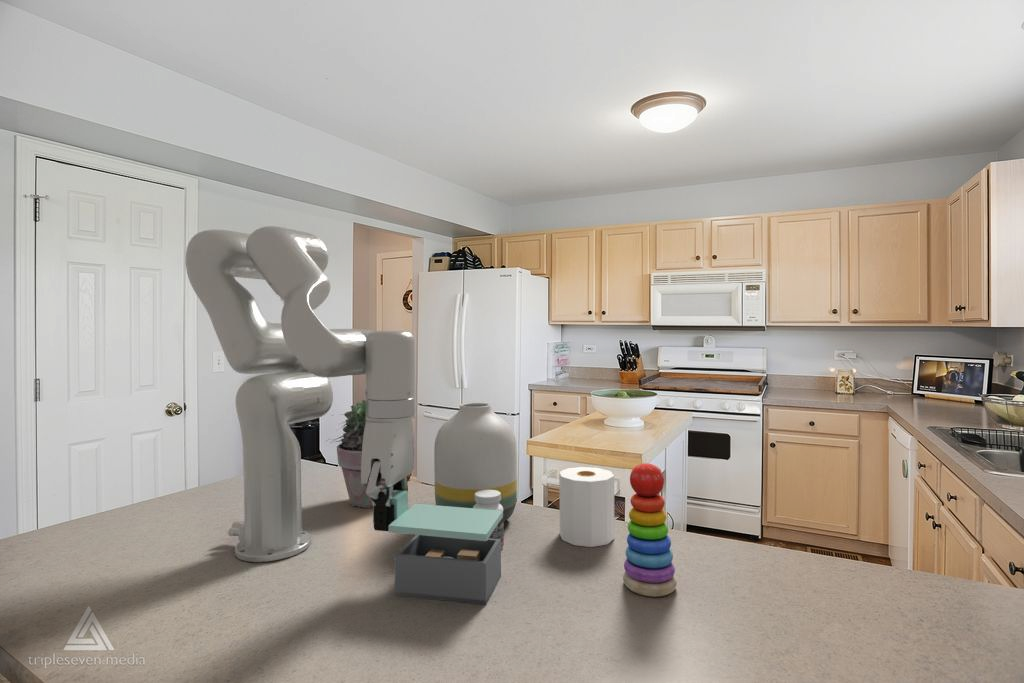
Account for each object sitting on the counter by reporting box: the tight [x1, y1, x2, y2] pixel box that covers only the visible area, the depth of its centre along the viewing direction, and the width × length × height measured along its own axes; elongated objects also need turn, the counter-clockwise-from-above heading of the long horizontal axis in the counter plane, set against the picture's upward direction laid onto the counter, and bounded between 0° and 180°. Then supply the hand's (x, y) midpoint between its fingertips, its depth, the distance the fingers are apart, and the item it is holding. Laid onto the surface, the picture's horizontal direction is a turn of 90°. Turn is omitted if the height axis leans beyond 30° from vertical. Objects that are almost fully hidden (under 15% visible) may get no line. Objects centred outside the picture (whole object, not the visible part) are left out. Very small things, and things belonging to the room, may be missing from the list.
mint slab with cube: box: [372, 490, 503, 541], centre depth 83 cm, size 19×10×4 cm, turn 77°
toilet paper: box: [558, 466, 615, 548], centre depth 102 cm, size 10×10×12 cm
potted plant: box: [326, 399, 387, 509], centre depth 123 cm, size 18×20×25 cm
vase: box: [433, 402, 518, 523], centre depth 110 cm, size 17×17×24 cm
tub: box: [394, 535, 502, 606], centre depth 82 cm, size 14×9×6 cm, turn 77°
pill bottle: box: [473, 490, 505, 550], centre depth 97 cm, size 6×6×10 cm
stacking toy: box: [622, 462, 677, 598], centre depth 82 cm, size 8×8×19 cm
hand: (390, 523), depth 84 cm, fingers closed on mint slab with cube, 4 cm apart
